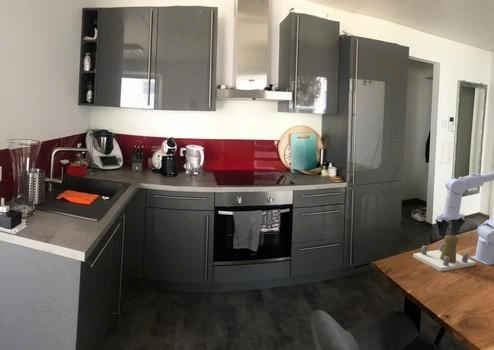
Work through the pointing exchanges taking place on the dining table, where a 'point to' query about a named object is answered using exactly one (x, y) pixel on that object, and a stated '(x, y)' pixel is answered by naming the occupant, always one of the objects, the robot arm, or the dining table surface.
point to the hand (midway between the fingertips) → (447, 235)
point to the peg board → (435, 261)
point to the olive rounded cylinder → (449, 248)
